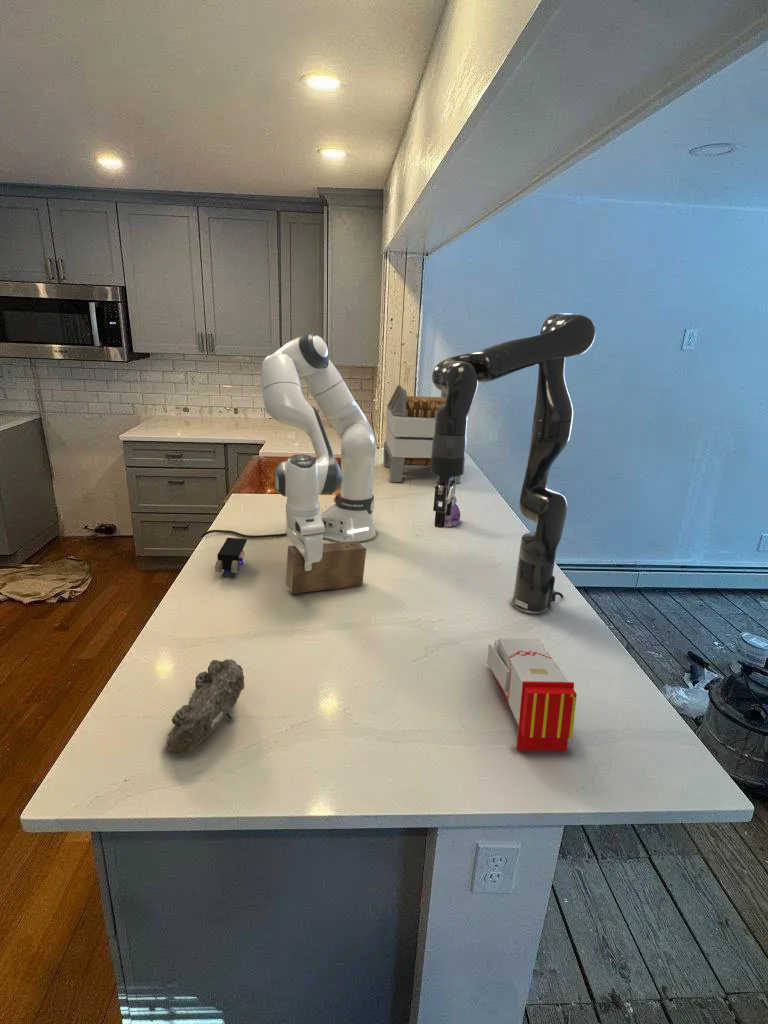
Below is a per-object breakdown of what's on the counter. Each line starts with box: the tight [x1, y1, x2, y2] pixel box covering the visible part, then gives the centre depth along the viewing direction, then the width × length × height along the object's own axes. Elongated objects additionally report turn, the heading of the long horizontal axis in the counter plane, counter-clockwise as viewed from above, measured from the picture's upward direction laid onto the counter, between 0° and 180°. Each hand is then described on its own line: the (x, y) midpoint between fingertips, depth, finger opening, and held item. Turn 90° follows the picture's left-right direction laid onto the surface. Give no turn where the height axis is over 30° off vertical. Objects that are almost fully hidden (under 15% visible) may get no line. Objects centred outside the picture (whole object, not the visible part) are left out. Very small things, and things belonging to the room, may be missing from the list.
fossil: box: [166, 658, 245, 754], centre depth 106 cm, size 22×10×15 cm
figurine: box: [444, 494, 461, 528], centre depth 209 cm, size 9×10×15 cm
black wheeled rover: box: [214, 537, 248, 578], centre depth 166 cm, size 7×8×15 cm
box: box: [285, 541, 367, 594], centre depth 158 cm, size 21×6×12 cm, turn 116°
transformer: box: [383, 384, 461, 484], centre depth 268 cm, size 34×33×41 cm
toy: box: [486, 637, 578, 752], centre depth 114 cm, size 12×13×30 cm
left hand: (303, 564), depth 155 cm, fingers open, 6 cm apart
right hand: (442, 520), depth 131 cm, fingers open, 8 cm apart
